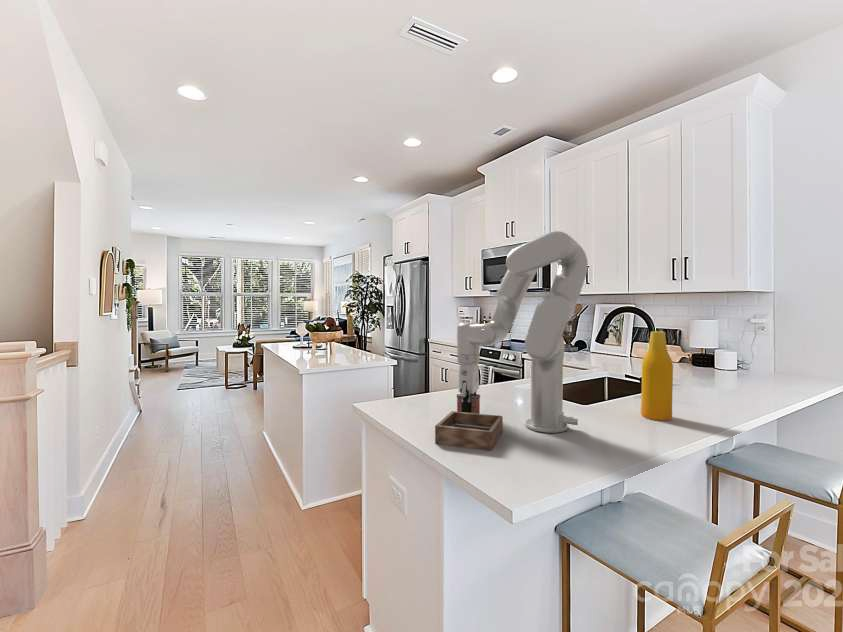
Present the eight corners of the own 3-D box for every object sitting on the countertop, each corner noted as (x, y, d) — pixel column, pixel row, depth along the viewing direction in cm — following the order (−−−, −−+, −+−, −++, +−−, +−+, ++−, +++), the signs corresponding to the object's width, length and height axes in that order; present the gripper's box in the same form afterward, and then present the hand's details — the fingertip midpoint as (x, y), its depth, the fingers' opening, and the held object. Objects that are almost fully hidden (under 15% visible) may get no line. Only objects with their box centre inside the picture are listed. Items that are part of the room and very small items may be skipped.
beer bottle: (678, 421, 136) (680, 333, 135) (649, 421, 136) (650, 333, 135) (662, 413, 145) (664, 330, 144) (635, 413, 146) (637, 330, 144)
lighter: (479, 415, 144) (479, 386, 144) (480, 418, 141) (480, 388, 140) (456, 414, 145) (456, 386, 145) (456, 417, 142) (456, 388, 141)
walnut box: (502, 432, 126) (502, 416, 126) (491, 450, 111) (491, 432, 111) (451, 426, 132) (451, 411, 131) (435, 443, 117) (435, 425, 116)
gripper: (473, 363, 133) (473, 419, 134) (484, 356, 149) (484, 406, 149) (450, 361, 136) (450, 417, 137) (464, 355, 151) (464, 404, 152)
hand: (468, 411), depth 143 cm, fingers closed on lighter, 3 cm apart
